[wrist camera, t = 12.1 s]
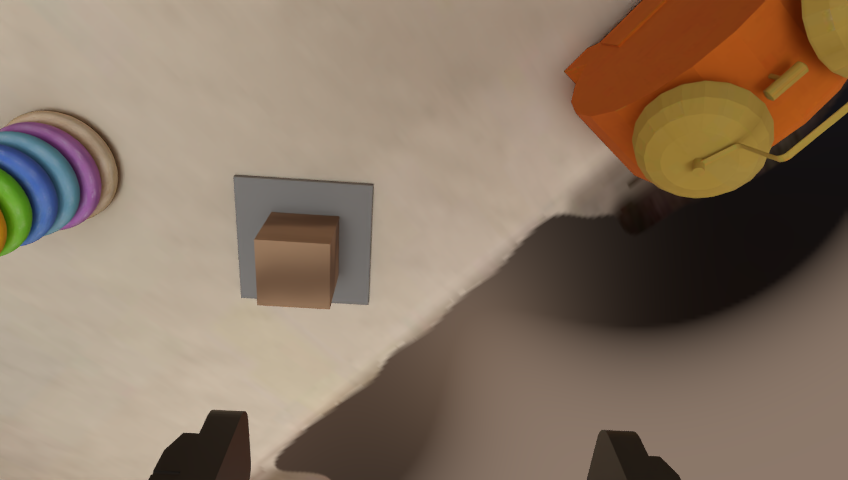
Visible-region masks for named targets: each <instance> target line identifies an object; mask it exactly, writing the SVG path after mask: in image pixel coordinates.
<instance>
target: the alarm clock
mask: <svg viewBox="0 0 848 480" xmlns="http://www.w3.org/2000/svg"><path fill="white" fill-rule="evenodd" d="M564 72H565V73H566V74H567V75H568V76H569V77H570V78H571V80H572V81H573V82H574V83H575V84H576V85H575V88H574V92H573V96H572V100H571V103H572V105H573V108H574V110H575V112H576V114H577V115H578V116H579V117H580V118H581V119H582V120H583V121H584V122H585V123H586V124H587V126H588V127H589V128H590V129H591V130H592V131H593V132H594V133H595V134H596V135H597V136H598V137H599V138H600V139H601V140H602V141H603V142H604V144H605V145H606V146H607V147H608V148H609V149H610V150H611V151H612V152H613V153H614V154H615V155H616V156H617V157H618V158H619V159H620V161H621V162H622V163H623V164H624V165H625V166H626V167H627V168H628V169H629V170H630V171H631V172H632V173H633V174H634V175H635V176H637V177H639V178H642V179H644V180H647V181H649V182H651V183H653V184H654V185H656V186H657V187H658V188H660V189H663V190H665V191H667V192H670V193H672V194H675V195H678V196H684V197H691V198H704V197H713V196H716V195H720V194H723V193H726V192H729V191H733V190H735V189H737V188H738V187H740V186H742V185H743V184H745V183H747V182H748V181H750V180H751V179H752V178H753V177H754V176H755V175H756V174H757V173H758V172H759V171H760V170H761V168H762V167H763V166H764V163H765V161H766V159H767V158H770V159H773V160H775V161H778V162H783V161H787V160H789V159H791V158H792V157H793V156H794V155H796V154H797V153H798V152H799V151H800V150H802V149H803V148H804V147H805V146H807V145H808V144H809V143H810V142H812V141H813V140H814V139H815V138H816V137H818V136H819V135H820V134H821V133H823V132H824V131H825V130H826V129H828V128H829V127H830V126H831V125H833V124H834V123H835V122H836V121H837V120H839V119H840V118H841V117H842V116H844V115H845V114H846V113H847V112H848V103H846V104H845V105H844V106H843V107H842V108H840V109H839V110H838V111H837V112H835V113H834V114H833V115H832V116H830V117H829V118H828V119H827V120H826V121H825V122H823V123H822V124H821V125H819V126H818V127H817V128H816V129H814V130H813V131H812V132H811V133H810V134H808V135H807V136H806V137H805V138H803V139H802V140H801V141H800V142H799V143H797V144H796V145H795V146H794V147H792V148H791V149H790V150H789V151H788V152H786V153H785V154H783V155H780V156H775V155H772V154H769V151H770V149H771V147H772V146H774V145H775V144H777V143H778V142H779V141H781V140H782V139H784V138H785V137H786V136H788V135H789V134H791V133H792V132H794V131H795V130H796V129H798V128H799V127H801V126H802V125H804V124H805V123H806V122H807V121H808V120H809V119H810V118H811V117H812V116H813V115H814V114H815V113H816V112H817V111H818V110H820V109H821V108H822V107H823V106H824V105H825V104H826V103H827V102H828V101H829V100H830V99H831V98H832V97H833V96H834V95H835V94H836V93H837V92H838V91H839V90H840V89H841V87H842V86H843V84H844V83H845V81H846V80H847V78H848V0H642V1H641V2H640V3H639V4H638V5H637V6H636V7H635V8H634V9H633V10H632V11H631V12H630V13H629V14H628V15H627V16H626V17H625V18H624V19H623V20H622V21H621V22H620V23H619V24H618V25H617V26H616V27H615V28H614V29H613V30H612V31H611V32H610V33H609V34H608V35H607V36H606V37H605V38H604V39H603V40H602V41H601V42H600V43H598V44H595V45H593V46H591V47H589V48H587V49H586V50H585V51H584V52H583V53H582V54H581V55H580V56H579V57H578V58H577V59H576V60H575V61H574V62H573V63H572V64H571V65H570V66H569V67H568V68H567V69H566V70H565V71H564Z"/></svg>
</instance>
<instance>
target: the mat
mask: <svg viewBox="0 0 848 480" xmlns="http://www.w3.org/2000/svg"><path fill="white" fill-rule="evenodd" d="M234 192H235V208H236V223H237V239H238V254H239V269H240V285H241V298H255V299H257V288H256V269H255V249H254V239H255V237H256V236H257V234H258V232H259V231H260V229H261V228H262V226H263V225H264V223H265V221H266V220H267V218H268V217H269V215H270V213H271V212H280V213H296V214H312V215H327V216H339V272H338V279H337V283H336V287H335V291H334V295H333V298H332V302H331V303H343V304H360V305H368V302H369V277H370V252H371V226H372V201H373V184H363V183H348V182H333V181H318V180H303V179H287V178H272V177H257V176H242V175H235V176H234Z"/></svg>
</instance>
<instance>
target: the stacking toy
mask: <svg viewBox="0 0 848 480" xmlns="http://www.w3.org/2000/svg"><path fill="white" fill-rule="evenodd" d="M117 184H118V172H117V166H116V162H115V159H114V157H113V155H112V153H111V151H110V149H109V147H108V146H107V144H106V143H105V142H104V140H103V139H102V138H101V137H100V136H99V135H98V134H97V133H96V132H95V131H94V130H93V129H92V128H90V127H89V126H88V125H86V124H85V123H83V122H82V121H80V120H78V119H76V118H74V117H71V116H69V115H66V114H63V113H59V112H53V111H35V112H30V113H26V114H23V115H21V116H18V117H17V118H15V119H13V120H12V121H11V122H9V123H8V124H7V125H6V126H5V127H4V128H2V129H0V256H2V255H5V254H8V253H10V252H12V251H14V250H15V249H17V248H18V247H19V246H23V245H27V244H30V243H33V242H35V241H37V240H38V239H40V238H41V237H43V236H45V235H48V234H51V233H54V232H56V231H58V230H63V229H68V228H71V227H74V226H76V225H78V224H80V223H82V222H83V221H85V220H86V219H88V218H91V217H93V216H95V215H97V214H99V213H100V212H101V211H103V210H104V209H105V208H106V207H107V206H108V205H109V204H110V202H111V201H112V199H113V197H114V195H115V192H116V189H117Z"/></svg>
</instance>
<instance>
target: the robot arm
mask: <svg viewBox="0 0 848 480" xmlns="http://www.w3.org/2000/svg"><path fill="white" fill-rule="evenodd" d="M250 471H251V457H250V442H249V427H248V416H247V413H246V412H245V411H226V410H212V411H210V413H209V414H208V416H207V418H206V420H205V422H204V425H203V427H202V429H201V431H200V433H199V434H196V433H183V434H182V435H181V436H180V437H178V438H177V439H176V440H175V441H174V442H173V443H172V444H171V445H170V446H168V447H167V448H166V449H165V450H164V452H163V454H162V455H161V457H160V459H159V461H158V463H157V465H156V467H155V469H154V470H153V475H151V476H150V478H149V480H249V479H250ZM587 480H681V479H680V477H679V475H678V474H677V473H676V472H675V471H674V470H673V469H672V468H671V467H670V466H669V465H668V464H667V463H666V462H665V461H664V460H663V459H662V458H661V457H657V456H648V454H647V452H646V450H645V448H644V445H643V444H642V442H641V439H640V438H639V436H638V434H637V433H636V432H633V431H612V430H601V431H600V433H599V435H598V438H597V441H596V445H595V449H594V453H593V458H592V461H591V465H590V469H589V473H588V477H587Z"/></svg>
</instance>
